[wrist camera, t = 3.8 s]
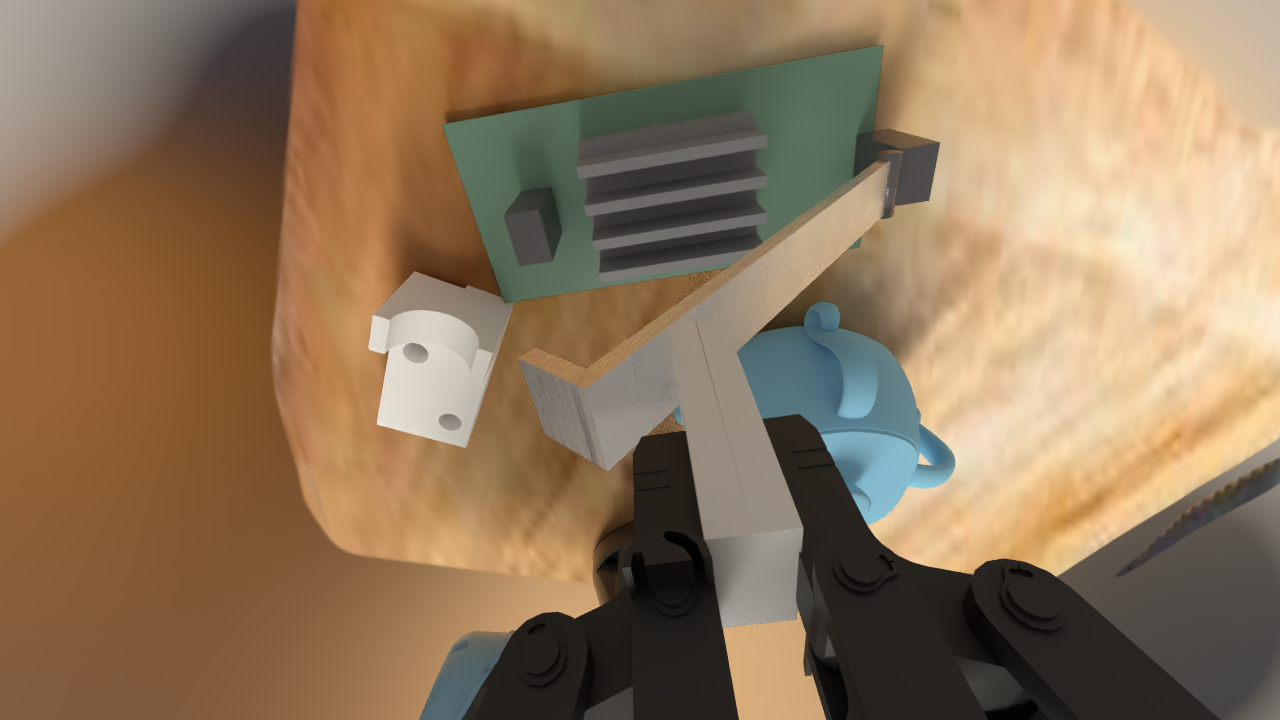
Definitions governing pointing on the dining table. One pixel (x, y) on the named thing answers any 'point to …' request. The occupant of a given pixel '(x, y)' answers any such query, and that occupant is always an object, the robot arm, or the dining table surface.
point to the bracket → (437, 356)
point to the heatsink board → (552, 154)
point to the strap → (741, 294)
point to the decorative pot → (847, 406)
